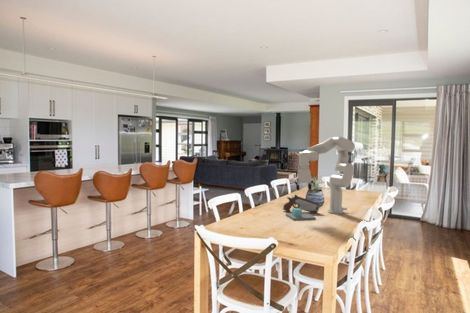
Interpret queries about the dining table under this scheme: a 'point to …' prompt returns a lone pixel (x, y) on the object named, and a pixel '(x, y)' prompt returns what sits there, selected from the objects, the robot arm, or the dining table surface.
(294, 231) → the dining table surface
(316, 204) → the gun
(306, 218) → the board
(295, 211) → the teal rectangular block
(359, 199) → the dining table surface
